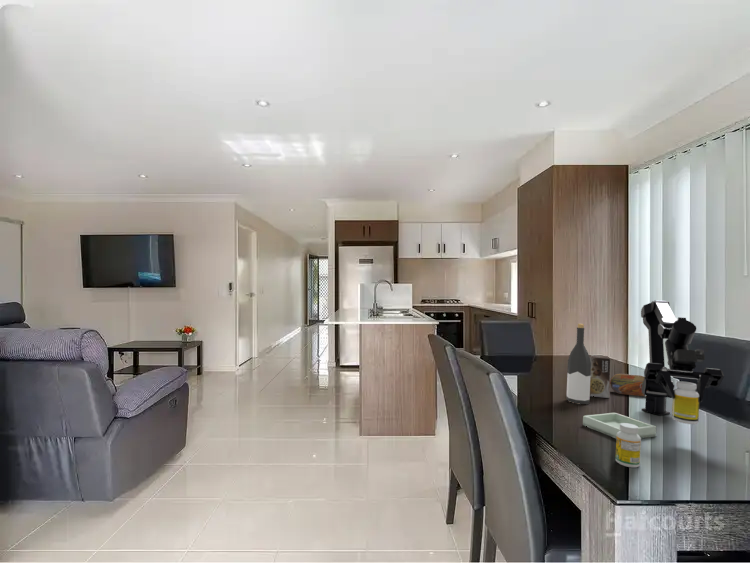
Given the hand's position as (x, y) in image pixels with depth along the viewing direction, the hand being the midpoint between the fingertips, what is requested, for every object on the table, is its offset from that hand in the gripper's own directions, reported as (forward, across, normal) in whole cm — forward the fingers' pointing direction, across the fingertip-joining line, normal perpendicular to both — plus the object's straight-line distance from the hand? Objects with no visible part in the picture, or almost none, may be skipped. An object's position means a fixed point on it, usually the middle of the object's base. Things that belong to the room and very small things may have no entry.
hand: (687, 399), depth 122 cm
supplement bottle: (+25, -18, -6) cm, 31 cm away
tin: (-33, -4, +53) cm, 63 cm away
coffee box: (-26, -18, +46) cm, 56 cm away
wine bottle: (-16, -26, +35) cm, 46 cm away
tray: (+6, -16, +13) cm, 22 cm away
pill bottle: (+4, 0, +6) cm, 7 cm away
